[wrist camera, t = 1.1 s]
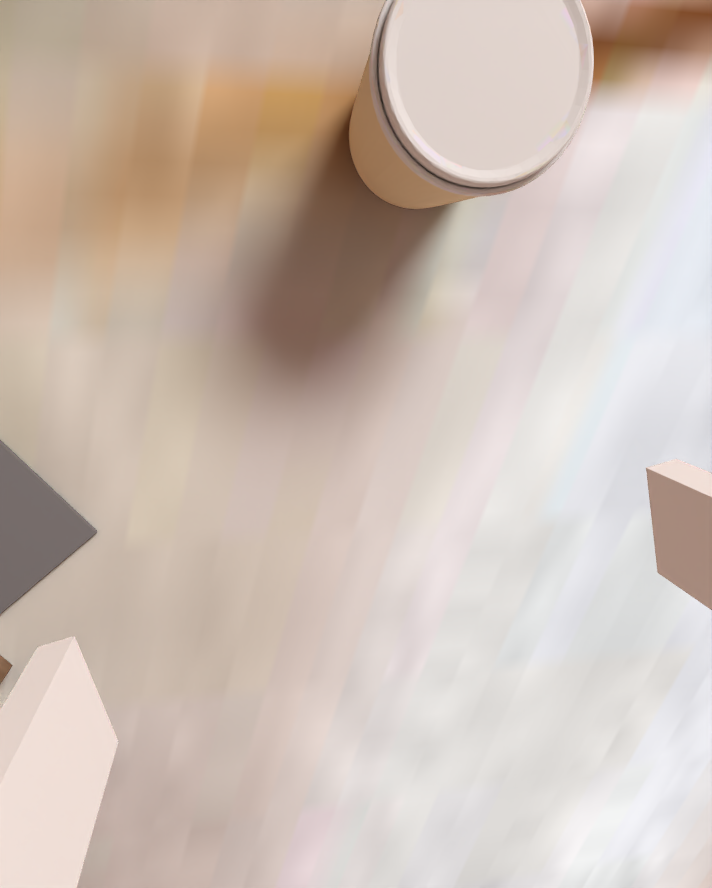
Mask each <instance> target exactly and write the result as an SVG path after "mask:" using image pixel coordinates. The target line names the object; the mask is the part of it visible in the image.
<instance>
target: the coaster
mask: <svg viewBox="0 0 712 888" xmlns="http://www.w3.org/2000/svg"><path fill="white" fill-rule="evenodd" d="M96 532H97V530H96V529H95V528H93V527H92V526H91V525H90V524H89V523H88V522H87V521H86V520H85V519H84V518H83V517H82V516H81V515H80V514H79V513H77V512H76V511H75V510H74V509H73V508H72V507H71V506H70V505H69V504H68V503H67V502H66V501H65V500H64V499H63V498H61V497H60V496H59V495H58V494H57V493H56V492H55V491H54V490H53V489H52V488H51V487H50V486H49V485H48V484H47V483H45V482H44V481H43V480H42V479H41V478H40V477H39V476H38V475H37V474H36V473H35V472H34V471H33V470H32V469H31V468H29V467H28V466H27V465H26V464H25V463H24V462H23V461H22V460H21V459H20V458H19V457H18V456H17V455H16V454H15V453H14V452H12V451H11V450H10V449H9V448H8V447H7V446H6V445H5V444H4V443H3V442H2V441H1V440H0V613H2V612H3V611H4V610H5V609H6V608H8V607H9V606H10V605H11V604H12V603H14V602H15V601H16V600H17V599H18V598H19V597H21V596H22V595H23V594H24V593H25V592H27V591H28V590H29V589H30V588H31V587H33V586H34V585H35V584H36V583H37V582H38V581H40V580H41V579H42V578H43V577H44V576H46V575H47V574H48V573H49V572H50V571H52V570H53V569H54V568H55V567H56V566H57V565H59V564H60V563H61V562H62V561H63V560H65V559H66V558H67V557H68V556H69V555H71V554H72V553H73V552H74V551H75V550H76V549H78V548H79V547H80V546H81V545H82V544H84V543H85V542H86V541H87V540H88V539H90V538H91V537H92V536H93V535H94V534H95V533H96Z"/></svg>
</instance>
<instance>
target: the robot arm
mask: <svg viewBox="0 0 712 888" xmlns="http://www.w3.org/2000/svg"><path fill="white" fill-rule="evenodd" d="M646 471H647V480H648V490H649V499H650V508H651V517H652V526H653V535H654V544H655V553H656V562H657V571H658V573H659V574H660V575H662V576H663V577H665V578H666V579H668V580H669V581H670V582H672V583H673V584H675V585H676V586H678V587H679V588H681V589H682V590H683V591H685V592H686V593H688V594H689V595H691V596H692V597H694V598H695V599H696V600H698V601H699V602H701V603H702V604H704V605H705V606H707V607H708V608H709V609H711V610H712V473H711V472H708V471H706V470H703V469H700V468H698V467H695V466H693V465H690V464H688V463H685V462H683V461H680V460H678V459H674V460H671V461H667V462H664V463H661V464H657V465H654V466H650V467H647V468H646ZM117 745H118V739H117V737H116V735H115V732H114V730H113V727H112V725H111V723H110V720H109V718H108V715H107V713H106V710H105V708H104V706H103V703H102V701H101V698H100V696H99V694H98V691H97V689H96V686H95V684H94V682H93V679H92V677H91V674H90V672H89V669H88V667H87V665H86V662H85V660H84V657H83V655H82V653H81V650H80V648H79V645H78V643H77V641H76V638H75V636H73V637H69V638H66V639H62V640H59V641H56V642H52V643H49V644H45V645H42V646H39V647H37V649H36V650H35V652H34V654H33V655H32V657H31V659H30V660H29V662H28V664H27V666H26V667H25V669H24V671H23V672H22V674H21V676H20V677H19V679H18V681H17V683H16V684H15V686H14V688H13V689H12V691H11V693H10V694H9V696H8V698H7V699H6V701H5V703H4V705H3V706H2V708H1V710H0V888H77V884H78V881H79V877H80V874H81V870H82V867H83V863H84V860H85V856H86V853H87V849H88V846H89V842H90V839H91V836H92V832H93V829H94V825H95V822H96V818H97V815H98V811H99V808H100V804H101V801H102V797H103V794H104V790H105V787H106V783H107V780H108V776H109V773H110V769H111V766H112V762H113V759H114V755H115V752H116V749H117Z"/></svg>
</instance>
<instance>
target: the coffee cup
mask: <svg viewBox="0 0 712 888" xmlns="http://www.w3.org/2000/svg"><path fill="white" fill-rule="evenodd" d="M593 65H594V56H593V43H592V36H591V31H590V26H589V22H588V19H587V16H586V13H585V10H584V8H583V5H582V3H581V1H580V0H386V1H385V3H384V5H383V7H382V10H381V12H380V15H379V17H378V20H377V24H376V27H375V30H374V34H373V39H372V44H371V50H370V54H369V57H368V61H367V64H366V67H365V70H364V73H363V76H362V79H361V83H360V86H359V89H358V93H357V96H356V99H355V103H354V106H353V110H352V115H351V120H350V126H349V144H350V151H351V156H352V159H353V162H354V165H355V168H356V170H357V172H358V174H359V176H360V177H361V179H362V180H363V182H364V183H365V184H366V186H367V187H368V188H369V189H370V190H371V191H372V192H373V193H374V194H375V195H377V196H378V197H379V198H381V199H382V200H384V201H386V202H388V203H390V204H392V205H395V206H398V207H402V208H407V209H423V208H431V207H436V206H440V205H445V204H449V203H454V202H458V201H463V200H467V199H471V198H475V197H480V196H492V195H497V194H503V193H506V192H509V191H513V190H515V189H517V188H520V187H522V186H524V185H526V184H528V183H530V182H531V181H533V180H535V179H536V178H537V177H539V176H540V175H541V174H543V173H544V172H545V171H546V170H547V169H549V168H550V167H551V166H552V165H553V164H554V163H555V162H556V161H557V160H558V159H559V157H560V156H561V155H562V154H563V153H564V151H565V150H566V148H567V147H568V146H569V144H570V143H571V141H572V139H573V137H574V136H575V134H576V132H577V130H578V128H579V126H580V123H581V121H582V118H583V115H584V113H585V110H586V106H587V103H588V99H589V95H590V91H591V85H592V79H593Z"/></svg>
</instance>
